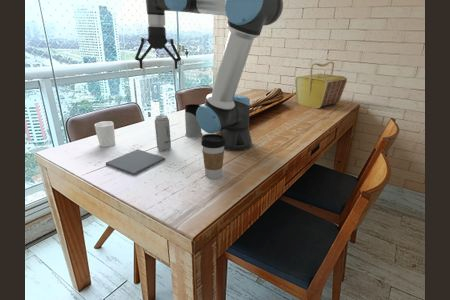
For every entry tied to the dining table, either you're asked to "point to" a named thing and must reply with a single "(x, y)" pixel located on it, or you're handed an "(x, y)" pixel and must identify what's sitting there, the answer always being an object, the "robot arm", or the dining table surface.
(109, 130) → the white cup
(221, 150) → the coffee cup
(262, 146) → the dining table surface
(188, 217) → the dining table surface
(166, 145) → the energy drink can
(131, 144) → the dining table surface
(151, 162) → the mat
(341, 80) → the picnic basket
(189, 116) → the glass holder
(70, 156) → the dining table surface
